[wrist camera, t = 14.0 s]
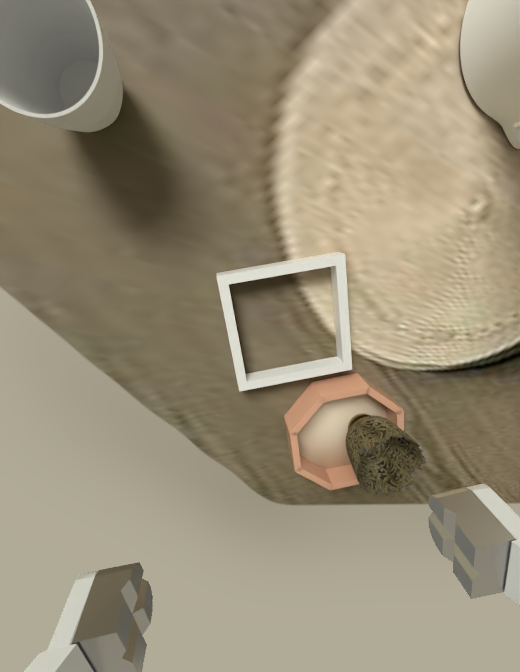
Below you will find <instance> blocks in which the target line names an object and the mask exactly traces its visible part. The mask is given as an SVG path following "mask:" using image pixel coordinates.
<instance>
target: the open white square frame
mask: <svg viewBox="0 0 520 672" xmlns="http://www.w3.org/2000/svg"><path fill="white" fill-rule="evenodd" d="M325 267H330V270H331V283H332V296H333V309H334V322H335V334H336V347H337V357H331V358H326V359H321V360H316V361H311V362H305V363H300V364H295V365H290V366H285V367H279V368H274V369H269V370H264V371H258V372H253V373H248V374H245V368H244V363H243V358H242V353H241V347H240V342H239V337H238V331H237V326H236V321H235V315H234V310H233V305H232V300H231V294H230V289H229V284H234V283H240V282H246V281H251V280H257V279H263V278H268V277H274V276H280V275H285V274H291V273H297V272H302V271H308V270H314V269H320V268H325ZM217 281H218V286H219V291H220V296H221V301H222V306H223V311H224V316H225V321H226V326H227V331H228V336H229V341H230V346H231V351H232V356H233V361H234V366H235V371H236V376H237V381H238V386H239V391H245V390H250V389H255V388H260V387H265V386H270V385H276V384H281V383H286V382H291V381H296V380H301V379H306V378H312V377H317V376H322V375H327V374H332V373H337V372H342V371H347V370H352V357H351V341H350V325H349V309H348V293H347V277H346V260H345V254H344V253H340V252H335V253H330V254H324V255H318V256H312V257H306V258H301V259H295V260H289V261H283V262H278V263H272V264H266V265H260V266H255V267H249V268H243V269H237V270H232V271H226V272H220V273H217Z"/></svg>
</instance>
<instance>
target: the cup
mask: <svg viewBox="0 0 520 672" xmlns="http://www.w3.org/2000/svg"><path fill="white" fill-rule="evenodd" d="M122 99H123V86H122V80H121V76H120V72H119V68H118V65H117V61H116V57H115V54H114V50H113V48H112V45H111V43H110V41H109V39H108V37H107V35H106V33H105V30H104V28H103V26H102V24H101V22H100V20H99V18H98V16H97V14H96V12H95V10H94V8H93V6H92V4H91V2H90V0H0V103H1V104H2V105H4V106H5V107H7V108H9V109H11V110H13V111H15V112H18V113H20V114H23V115H25V116H28V117H30V118H33V119H35V120H38V121H40V122H43V123H45V124H48V125H50V126H53V127H56V128H60V129H66V130H72V131H79V132H95V131H99V130H101V129H103V128H105V127H107V126H109V125H111V124H112V123H113V122H114V121H115V120H116V118H117V117H118V115H119V112H120V109H121V105H122Z"/></svg>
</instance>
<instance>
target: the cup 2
mask: <svg viewBox="0 0 520 672" xmlns="http://www.w3.org/2000/svg"><path fill="white" fill-rule="evenodd" d="M346 450H347V454H348V457H349V460H350V462H351V465H352V468H353V470H354V473H355V475H356V478H357V480H358V482H359V485H360V486H361V487H364V489H365V490H366V491H367V492H368V493H369V492H373V493H374V494H375V495H377V492H378V490H381V492H383V493H384V494H386V495H388V490H392V491H395V492H402V491H403V489H404V487H405V485H406V484H407V485H410V484H412V483H413V479H412V478H411V476H410V474H411V473H413V472H414V470H415V469H416V468H418V469H419V470H420V471H421V470H422V466H421V464H425V463H426V462H425V458H424V456H423V455H422V453H421V452H424V451H423V450H422V448H421V447H420V446H419V445H418V444H417V442H416V441H414V440H413V439H412V438H411V437H410V436H409V435H407V434H406V433H405V432H404V431H403V430H402V429H400V428H399V427H398V426H397V425H395V424H394V423H393V422H391V421H389V420H388V419H386V418H383V417H380V416H371V415H369V414H365V413H361V414H357V415H355V416H354V417H352V418H351V420H350V421H349V423H348V432H347V435H346Z"/></svg>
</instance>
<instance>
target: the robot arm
mask: <svg viewBox="0 0 520 672" xmlns="http://www.w3.org/2000/svg"><path fill="white" fill-rule="evenodd" d="M460 57H461V66H462V72H463V76H464V80H465V83H466V85H467V88H468V90H469V92H470V94H471V96H472V98H473V99H474V101H475V102H476V104H477V105H478V106H479V107H480V108H481V109H482V110H483V111H484V112H485V113H486V114H487V115H489V116H490V117H491V118H493V119H494V120H496V121H497V122H498V123H499V124H500V125H501V126H502V127H503V130H504V132H505V134H506V136H507V138H508V140H509V142H510V143H511V145H512V146H513V147H514V148H516V149H520V0H469V1H468V4H467V7H466V11H465V14H464V19H463V24H462V30H461V39H460ZM429 507H430V508H431V509H432V511H433V513H432V514H431V515H430V516H429V528H430V532H431V535H432V538H433V540H434V542H435V544H436V546H437V547H438V549H439V551H440V552H441V554H442V555H443V556H445V557H446V558H448V559H449V560H451V561H453V572H454V574H455V575H456V577H457V578H458V580H459V581H460V583H461V584H462V586H463V587H464V589H465V590H466V592H467V593H468V595H469V596H470V598H471V599H472V598H477V597H482V596H486V595H491V594H496V593H501V592H504V594H505V595H506V596H508V597H509V598H510V599H512V600H513V601H514V602H516V603H517V604H518V605H520V517H519V516H518V515H517V514H516V513H515V512H514V511H513V510H512V509H511V508H510V507H509V506H508V505H507V504H506V503H505V502H504V501H503V500H502V499H501V498H500V497H499V496H498V495H497V494H496V493H495V492H494V491H493V490H492V489H491V488H490V487H489V486H487V485H485V484H479V485H475V486H471V487H467V488H460V489H456V490H452V491H448V492H444V493H440V494H435V495H431V497H430V498H429ZM142 575H143V569H142V567H141V565H140V563H134V564H129V565H124V566H118V567H113V568H109V569H103V570H98V571H93V572H89V573H84V574H80V576H79V577H78V578H77V580H76V581H75V582H74V585H73V587H72V590H71V592H70V595H69V597H68V600H67V602H66V605H65V607H64V610H63V612H62V615H61V617H60V620H59V622H58V625H57V627H56V629H55V632H54V635H53V637H52V640H51V642H50V644H49V647H48V649H47V650H46V651H42V652H40V653H39V655H38V656H37V657H36V658H35V659H34V660H33V662H32V663H31V664H30V665H29V667H28V668H27V669H26V670H25V671H24V672H142V668H143V662H144V657H145V651H146V645H147V644H146V642H145V640H144V638H143V636H142V635H143V634H144V632H145V631H146V629H147V628H148V626H149V625H150V622H151V616H152V598H153V597H152V591H151V587H150V585H149V582H148V581H146V580H144V579H142Z"/></svg>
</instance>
